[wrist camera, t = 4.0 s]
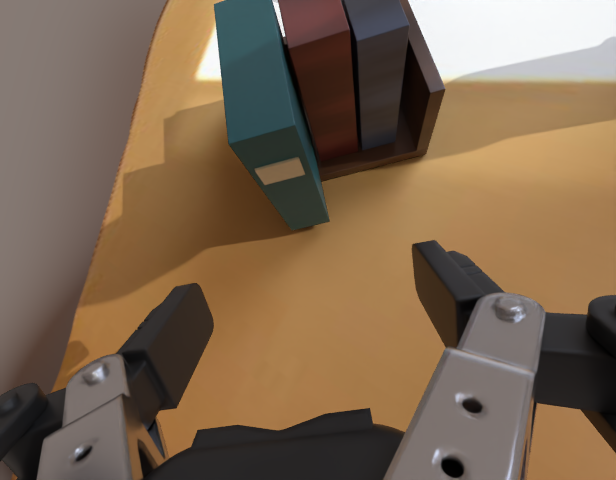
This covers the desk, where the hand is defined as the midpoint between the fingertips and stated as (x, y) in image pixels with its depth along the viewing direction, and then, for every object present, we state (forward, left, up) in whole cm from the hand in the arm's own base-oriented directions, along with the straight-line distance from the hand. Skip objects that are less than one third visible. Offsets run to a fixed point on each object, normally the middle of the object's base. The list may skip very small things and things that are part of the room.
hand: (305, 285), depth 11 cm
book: (-9, -13, -18) cm, 23 cm away
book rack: (-17, -15, -19) cm, 30 cm away
